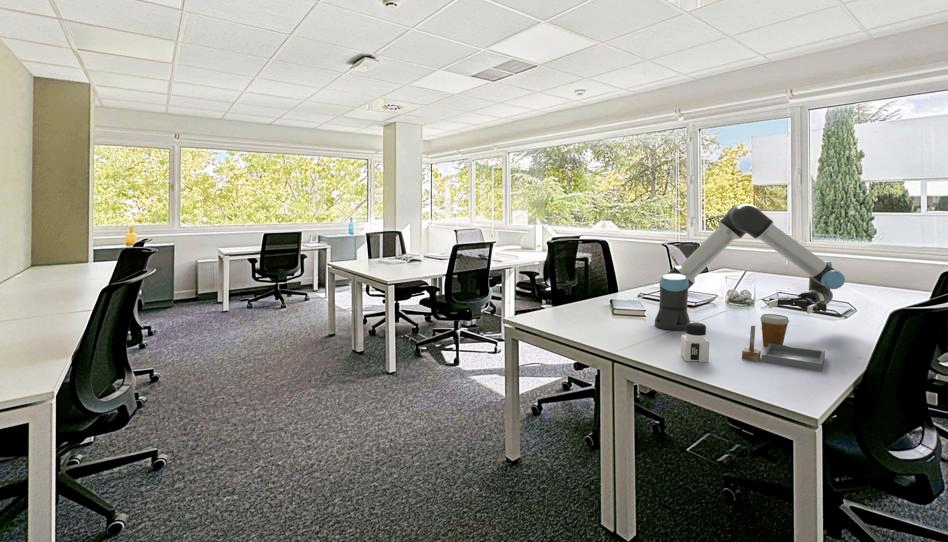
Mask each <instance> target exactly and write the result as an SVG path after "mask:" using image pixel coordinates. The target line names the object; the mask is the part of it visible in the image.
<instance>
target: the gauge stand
mask: <svg viewBox="0 0 948 542" xmlns="http://www.w3.org/2000/svg"><path fill="white" fill-rule="evenodd" d="M749 333H750V334H749V336H750V337H749V347H744V348H743V350H742V351H741V360H745V361H752V362H756V361H757V362H759V361H760V359H761V349H757V348H755V341H756V340H755V338H756V325H754V324H753V325H750V332H749Z"/></svg>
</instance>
